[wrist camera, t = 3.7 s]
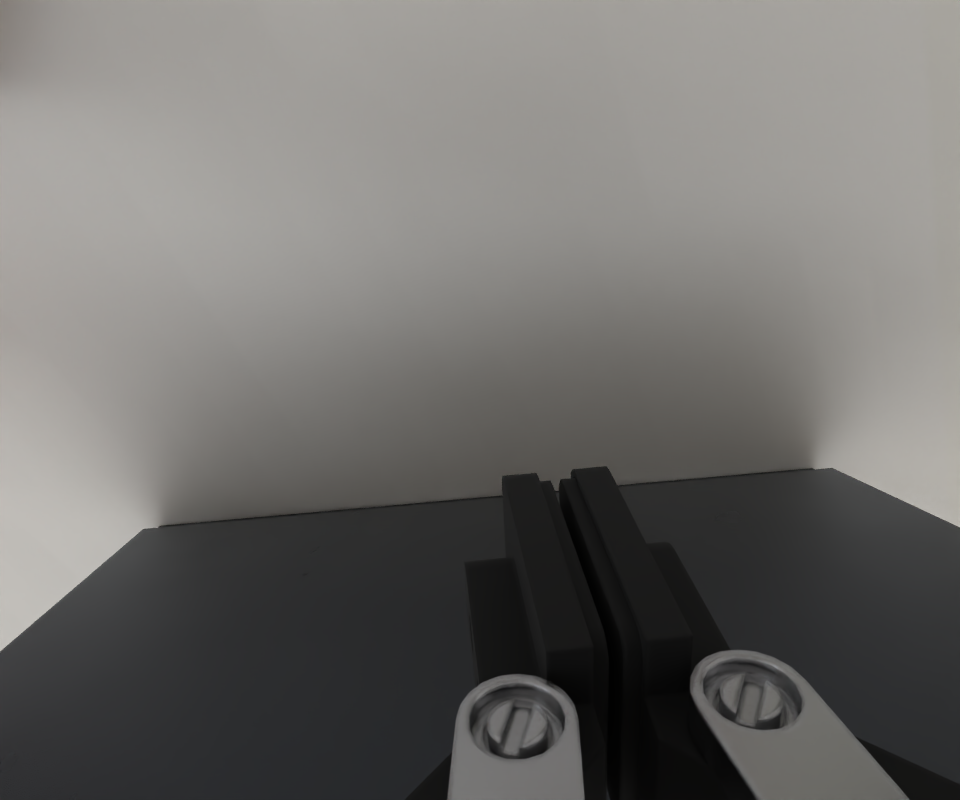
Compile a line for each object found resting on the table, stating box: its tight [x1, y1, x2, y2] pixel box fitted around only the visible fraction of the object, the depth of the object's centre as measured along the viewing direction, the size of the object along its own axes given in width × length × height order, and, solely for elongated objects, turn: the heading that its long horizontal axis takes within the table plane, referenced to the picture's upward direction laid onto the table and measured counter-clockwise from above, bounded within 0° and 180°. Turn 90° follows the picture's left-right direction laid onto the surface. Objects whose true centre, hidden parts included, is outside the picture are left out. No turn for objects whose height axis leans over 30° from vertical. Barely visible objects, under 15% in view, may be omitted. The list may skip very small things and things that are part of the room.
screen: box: [0, 468, 960, 800], centre depth 22 cm, size 22×30×1 cm
